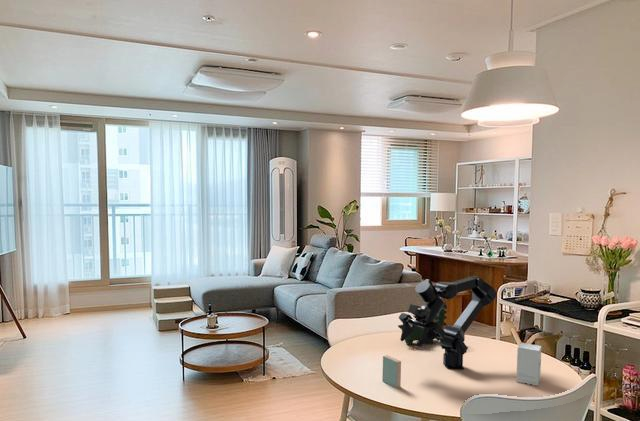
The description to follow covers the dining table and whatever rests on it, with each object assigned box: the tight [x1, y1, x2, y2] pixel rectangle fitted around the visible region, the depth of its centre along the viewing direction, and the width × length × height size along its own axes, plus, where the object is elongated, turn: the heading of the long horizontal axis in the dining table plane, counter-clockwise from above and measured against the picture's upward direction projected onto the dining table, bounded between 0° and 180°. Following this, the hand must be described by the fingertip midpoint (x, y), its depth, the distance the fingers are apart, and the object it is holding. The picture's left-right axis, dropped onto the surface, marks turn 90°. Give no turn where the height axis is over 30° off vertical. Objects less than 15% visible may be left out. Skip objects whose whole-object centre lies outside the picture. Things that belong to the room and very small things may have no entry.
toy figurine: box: [397, 308, 448, 346], centre depth 209 cm, size 9×19×25 cm
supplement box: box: [516, 342, 542, 386], centre depth 166 cm, size 7×7×13 cm
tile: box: [381, 355, 402, 389], centre depth 161 cm, size 2×7×9 cm, turn 35°
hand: (409, 343), depth 166 cm, fingers open, 8 cm apart
